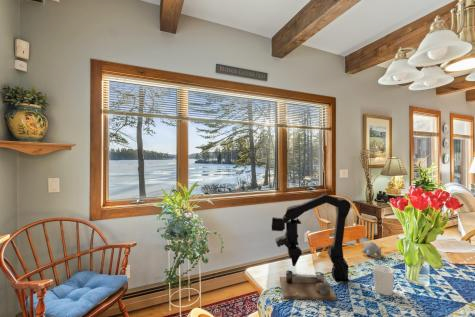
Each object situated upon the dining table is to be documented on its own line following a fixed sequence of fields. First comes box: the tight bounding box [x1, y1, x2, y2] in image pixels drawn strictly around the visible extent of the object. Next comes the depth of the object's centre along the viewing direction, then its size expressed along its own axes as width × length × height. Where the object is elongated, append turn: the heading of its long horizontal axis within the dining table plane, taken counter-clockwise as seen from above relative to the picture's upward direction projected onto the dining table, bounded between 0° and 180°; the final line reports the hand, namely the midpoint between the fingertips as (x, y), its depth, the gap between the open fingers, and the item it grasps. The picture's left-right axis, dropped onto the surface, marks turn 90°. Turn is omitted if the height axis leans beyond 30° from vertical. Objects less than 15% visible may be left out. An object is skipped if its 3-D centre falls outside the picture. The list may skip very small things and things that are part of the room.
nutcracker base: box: [279, 276, 338, 301], centre depth 105 cm, size 22×16×5 cm
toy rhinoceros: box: [361, 241, 383, 258], centre depth 140 cm, size 7×12×8 cm, turn 100°
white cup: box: [372, 264, 395, 296], centre depth 103 cm, size 8×8×10 cm
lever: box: [285, 270, 325, 283], centre depth 108 cm, size 17×4×4 cm, turn 86°
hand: (292, 262), depth 119 cm, fingers open, 9 cm apart
